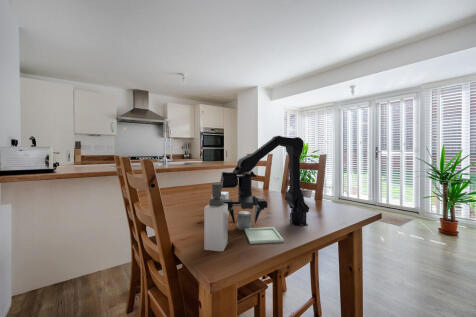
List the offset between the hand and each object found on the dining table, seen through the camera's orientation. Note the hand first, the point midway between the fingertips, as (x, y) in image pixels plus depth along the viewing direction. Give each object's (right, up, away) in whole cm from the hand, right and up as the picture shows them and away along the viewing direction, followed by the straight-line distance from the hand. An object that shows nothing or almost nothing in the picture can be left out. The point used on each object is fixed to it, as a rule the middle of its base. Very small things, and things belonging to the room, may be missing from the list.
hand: (244, 223), depth 92 cm
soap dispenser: (-10, -3, -16) cm, 19 cm away
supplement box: (-12, -2, +15) cm, 19 cm away
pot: (0, -2, +1) cm, 2 cm away
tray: (+7, -3, -8) cm, 11 cm away
